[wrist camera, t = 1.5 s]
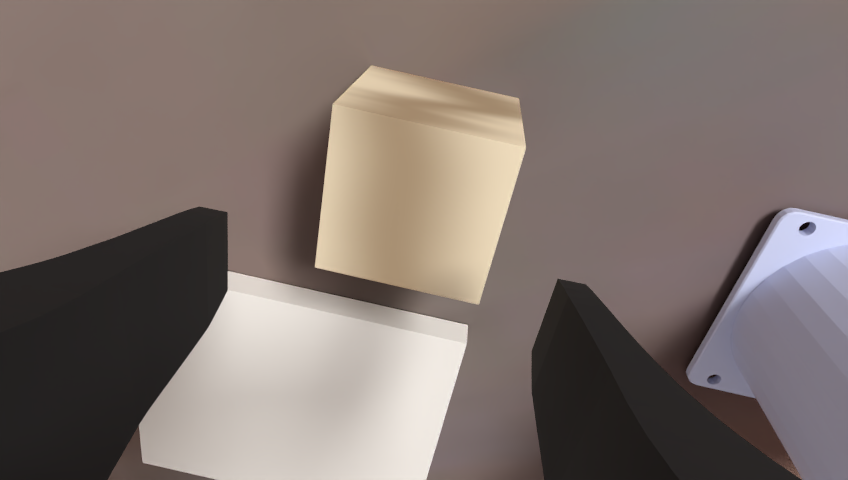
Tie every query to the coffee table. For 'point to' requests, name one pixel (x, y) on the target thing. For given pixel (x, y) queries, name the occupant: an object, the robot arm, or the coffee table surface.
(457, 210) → the maple cube
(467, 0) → the coffee table surface
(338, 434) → the ceramic tile
